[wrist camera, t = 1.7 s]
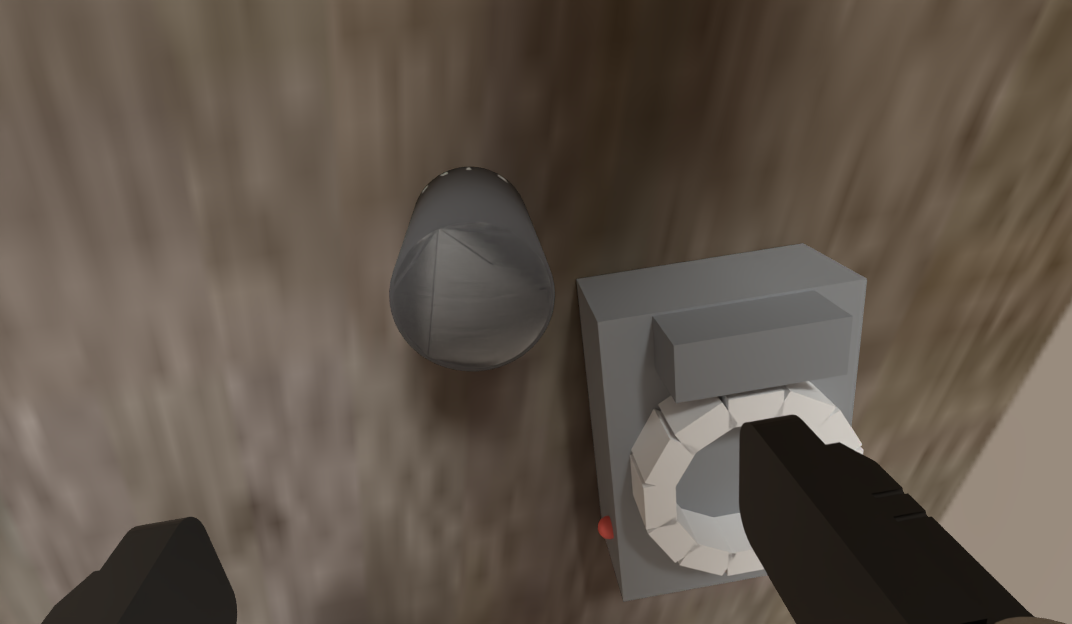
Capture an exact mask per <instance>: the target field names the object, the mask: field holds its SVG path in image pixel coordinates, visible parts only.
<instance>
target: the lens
mask: <svg viewBox="0 0 1072 624" xmlns="http://www.w3.org/2000/svg"><path fill="white" fill-rule="evenodd" d="M389 297H390V307H391V312H392V315H393V319H394V322H395V324H396V326H397V328H398V330H399V332H400V333H401V335H402V336H403V338H404V339H405V340H406V341H407V343H408V344H409V345H410V346H411V347H412V348H413V349H414V350H415V351H417V352H418V353H419V354H420V355H422V356H423V357H425V358H426V359H428V360H430V361H432V362H434V363H436V364H438V365H441V366H443V367H446V368H450V369H454V370H461V371H483V370H489V369H494V368H498V367H500V366H503V365H506V364H508V363H510V362H512V361H514V360H516V359H518V358H519V357H521V356H522V355H524V354H525V353H526V352H527V351H529V350H530V349H531V348H532V347H533V346H534V345H535V344H536V343H537V342H538V340H539V339H540V338H541V336H542V335H543V333H544V332H545V330H546V328H547V326H548V324H549V321H550V319H551V316H552V312H553V308H554V300H555V289H554V282H553V276H552V273H551V271H550V268H549V265H548V262H547V260H546V257H545V255H544V252H543V250H542V247H541V245H540V242H539V240H538V237H537V235H536V232H535V230H534V227H533V225H532V222H531V219H530V217H529V214H528V212H527V209H526V207H525V204H524V202H523V200H522V198H521V196H520V194H519V193H518V191H517V190H516V189H515V188H514V186H513V185H512V184H511V183H510V182H509V181H507V180H506V179H505V178H503V177H502V176H500V175H499V174H497V173H495V172H493V171H490V170H487V169H484V168H478V167H461V168H456V169H452V170H449V171H447V172H445V173H443V174H441V175H439V176H437V177H436V178H435V179H433V180H432V181H431V182H430V183H429V184H428V185H427V186H426V187H425V188H424V190H423V191H422V193H421V194H420V196H419V198H418V200H417V202H416V205H415V208H414V211H413V214H412V217H411V220H410V223H409V226H408V229H407V232H406V235H405V238H404V241H403V244H402V247H401V250H400V253H399V256H398V259H397V262H396V265H395V268H394V271H393V274H392V278H391V282H390V290H389Z"/></svg>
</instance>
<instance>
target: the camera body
mask: <svg viewBox="0 0 1072 624" xmlns="http://www.w3.org/2000/svg"><path fill="white" fill-rule="evenodd" d="M576 281H577V291H578V300H579V310H580V319H581V329H582V338H583V348H584V357H585V367H586V376H587V386H588V395H589V405H590V414H591V424H592V434H593V443H594V453H595V462H596V472H597V481H598V491H599V500H600V510H601V520H600V521H599V523H598V531H599V533H600V535H601V536H602V537H604V538H605V540H606V543H607V547H608V550H609V553H610V557H611V560H612V564H613V567H614V571H615V574H616V578H617V581H618V585H619V588H620V592H621V595H622V599H623V602H625V601H630V600H635V599H641V598H646V597H652V596H657V595H663V594H668V593H673V592H679V591H684V590H690V589H695V588H701V587H706V586H711V585H717V584H722V583H728V582H733V581H739V580H744V579H749V578H755V577H760V576H766V575H767V573H766V571H765V569H764V568H763V566H762V564H761V563H760V561H759V559H758V557H757V556H756V554H755V552H754V551H753V549H752V547H751V545H750V543H749V541H748V539H747V536H746V534H745V531H744V528H743V524H742V521H741V516H740V510H739V438H740V429H741V426H742V425H743V423H745V422H751V421H757V420H763V419H768V418H774V417H780V416H786V415H792V414H794V415H797V416H798V417H800V418H801V419H802V420H803V421H804V422H805V423H806V424H807V425H808V426H809V427H810V428H811V430H812V431H813V432H814V433H815V434H816V435H817V436H818V437H819V438H820V439H821V440H822V441H823V442H824V443H825V445H826V444H831V443H837V442H840V443H842V444H844V445H846V446H848V447H849V448H851V449H853V450H855V451H857V452H859V453H861V454H862V455H863V449H862V448H861V447H860V446H861V445H862V443H861V442H860V440H859V439H858V437H857V436H856V434H855V432H854V431H853V429H852V428H851V425H852V416H853V406H854V397H855V388H856V378H857V369H858V359H859V350H860V340H861V331H862V322H863V312H864V303H865V293H866V284H867V279H866V278H865V277H863V276H861V275H859V274H857V273H856V272H854V271H852V270H850V269H848V268H847V267H845V266H843V265H841V264H839V263H838V262H836V261H834V260H832V259H830V258H829V257H827V256H825V255H823V254H822V253H820V252H818V251H816V250H814V249H813V248H811V247H809V246H807V245H805V244H804V243H803V244H796V245H790V246H784V247H777V248H771V249H764V250H758V251H752V252H745V253H739V254H733V255H726V256H720V257H714V258H707V259H701V260H694V261H688V262H682V263H675V264H669V265H663V266H656V267H650V268H643V269H637V270H631V271H624V272H618V273H612V274H605V275H599V276H593V277H586V278H580V279H576Z"/></svg>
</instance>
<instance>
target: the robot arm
mask: <svg viewBox="0 0 1072 624" xmlns="http://www.w3.org/2000/svg"><path fill="white" fill-rule="evenodd" d="M739 510H740V516H741V521H742V524H743V528H744V531H745V534H746V536H747V539H748V541H749V543H750V545H751V547H752V549H753V551H754V552H755V554H756V556H757V557H758V559H759V561H760V563H761V564H762V566H763V568H764V569H765V571H766V573H767V575H768V576H769V578H770V580H771V581H772V583H773V585H774V587H775V588H776V590H777V592H778V593H779V595H780V597H781V598H782V600H783V602H784V604H785V605H786V607H787V609H788V610H789V612H790V614H791V616H792V617H793V619H794V621H795V622H796V624H1065V623H1062V622H1058V621H1054V620H1050V619H1044V618H1037V617H1034V616H1033V615H1032V614H1031V613H1029V612H1028V611H1027V610H1026V609H1025V608H1024V607H1023V606H1022V605H1021V604H1020V603H1019V602H1018V601H1017V600H1016V599H1015V598H1014V597H1013V596H1012V595H1011V594H1010V593H1009V592H1008V591H1007V590H1006V589H1005V588H1004V587H1003V586H1002V585H1001V584H1000V583H999V582H998V581H997V580H996V579H994V577H992V576H991V574H989V573H988V572H987V571H986V570H985V569H984V568H983V567H982V566H981V565H980V564H979V563H978V562H977V561H976V560H975V559H974V558H973V557H972V556H971V555H970V554H969V553H968V552H967V551H966V550H965V549H964V548H963V547H962V546H961V545H960V544H959V543H958V542H957V541H956V540H955V539H954V538H953V537H952V536H951V535H950V534H949V533H948V532H947V531H945V530H944V528H943V527H942V526H941V525H940V524H939V523H938V522H937V521H936V520H935V519H934V518H932V517H928V516H927V515H926V511H925V510H924V509H923V508H922V507H921V506H920V505H919V504H918V503H917V502H916V501H915V500H914V499H913V498H912V497H911V496H910V495H909V494H904V492H903V488H902V487H901V486H900V485H899V484H898V483H897V482H896V481H895V480H894V479H893V478H892V477H891V476H890V475H889V474H888V473H887V472H886V471H885V470H884V469H883V468H882V467H881V466H880V465H879V464H878V463H877V462H875V461H873V460H872V459H870V458H868V457H866V456H864V455H862V454H861V453H859V452H857V451H855V450H853V449H851V448H849V447H848V446H846V445H844V444H842V443H840V442H837V443H831V444H826V445H825V443H824V442H823V441H822V440H821V439H820V438H819V437H818V436H817V435H816V434H815V433H814V432H813V431H812V430H811V428H810V427H809V426H808V425H807V424H806V423H805V422H804V421H803V420H802V419H801V418H800V417H798V416H797V415H794V414H792V415H786V416H780V417H774V418H768V419H763V420H757V421H751V422H745V423H743V425H742V426H741V429H740V438H739ZM236 622H237V604H236V598H235V594H234V592H233V589H232V587H231V585H230V582H229V580H228V578H227V576H226V574H225V571H224V569H223V567H222V565H221V563H220V560H219V558H218V556H217V554H216V552H215V549H214V547H213V545H212V543H211V541H210V538H209V536H208V534H207V532H206V530H205V528H204V526H203V524H202V523H201V522H200V521H199V520H198V519H197V518H194V517H187V518H181V519H175V520H169V521H164V522H158V523H152V524H146V525H141V526H136V527H134V528H132V529H131V530H130V531H128V532H127V534H126V535H125V536H124V537H123V539H122V540H121V541H120V543H119V544H118V546H117V547H116V548H115V550H114V551H113V553H112V554H111V555H110V557H109V558H108V560H107V561H106V562H105V564H104V565H103V567H102V568H101V569H100V571H94V572H93V573H92V574H90V575H89V576H88V577H87V578H86V579H85V580H84V581H82V582H81V583H80V584H79V585H78V586H77V587H76V588H74V589H73V590H72V591H71V592H70V593H69V594H68V595H66V596H65V597H64V598H63V599H62V600H61V601H60V602H58V603H57V604H56V605H55V606H54V607H53V609H52V610H51V611H50V613H49V614H48V615H47V616H46V618H45V619H44V620H43V622H42V623H41V624H236Z"/></svg>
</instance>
